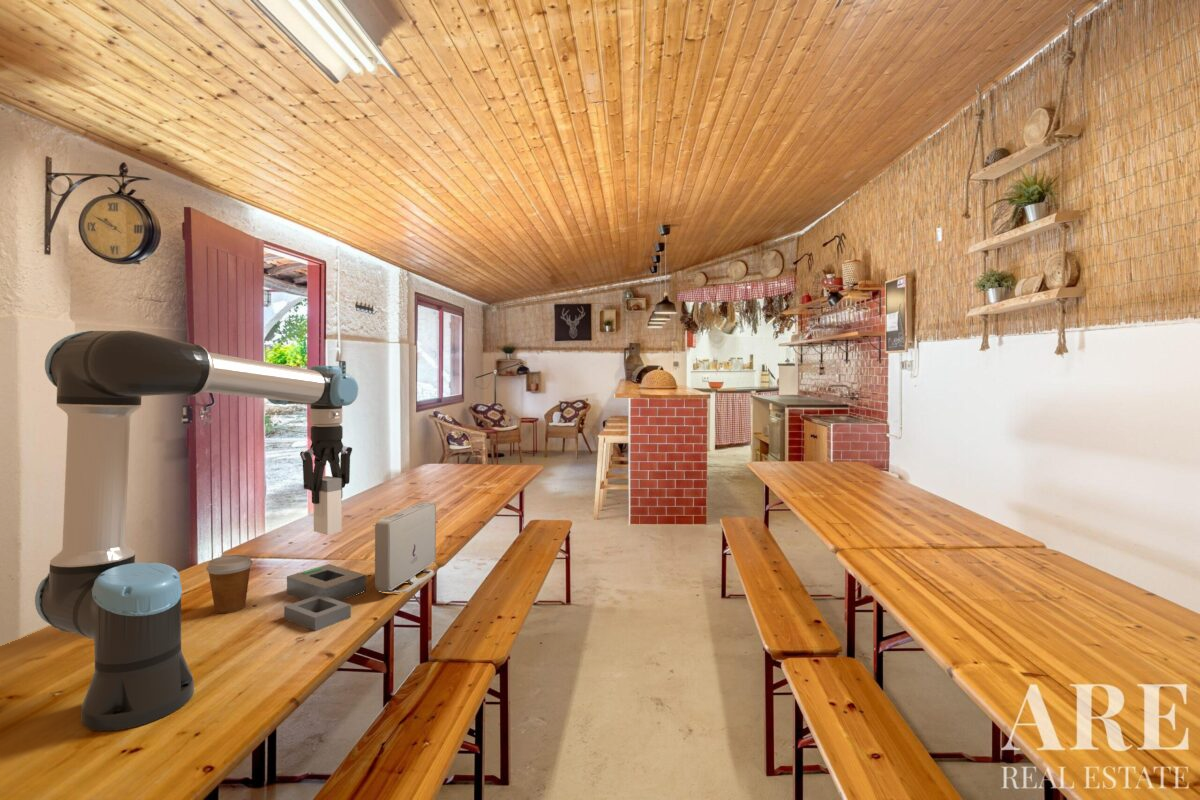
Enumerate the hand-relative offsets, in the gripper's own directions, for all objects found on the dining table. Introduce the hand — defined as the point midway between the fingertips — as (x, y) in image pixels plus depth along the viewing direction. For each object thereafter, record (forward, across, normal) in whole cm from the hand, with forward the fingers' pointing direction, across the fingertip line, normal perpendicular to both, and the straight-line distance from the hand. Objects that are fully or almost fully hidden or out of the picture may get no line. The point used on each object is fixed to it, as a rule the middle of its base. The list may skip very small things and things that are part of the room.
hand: (327, 513), depth 151 cm
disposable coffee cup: (+21, -19, +10) cm, 30 cm away
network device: (+21, +17, -10) cm, 29 cm away
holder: (+21, -11, -12) cm, 27 cm away
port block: (+21, 0, +1) cm, 21 cm away
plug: (+5, 0, 0) cm, 5 cm away
